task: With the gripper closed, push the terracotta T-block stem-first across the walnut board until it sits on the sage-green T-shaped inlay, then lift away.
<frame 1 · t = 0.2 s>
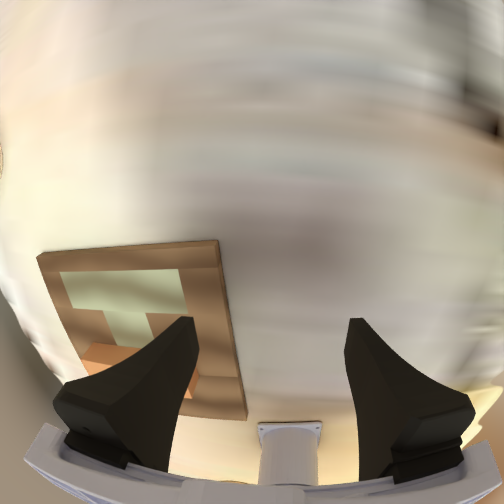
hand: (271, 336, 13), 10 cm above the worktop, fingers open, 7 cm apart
t block: (147, 371, 27), point 1 cm above the worktop, touching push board
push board: (142, 344, 27), on the worktop
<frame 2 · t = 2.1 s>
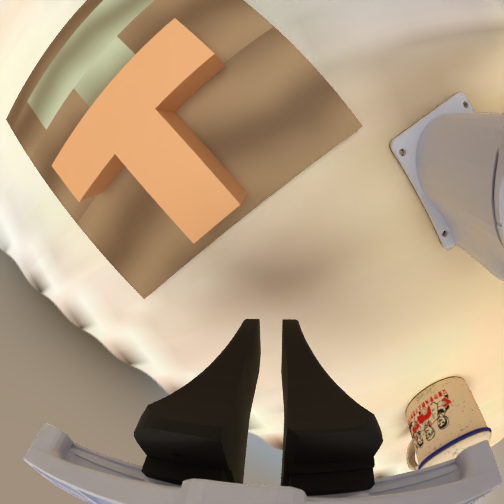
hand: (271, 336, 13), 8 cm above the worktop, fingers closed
teacup with lid: (428, 405, 26), on the worktop
t block: (155, 130, 16), point 1 cm above the worktop, touching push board
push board: (137, 102, 17), on the worktop
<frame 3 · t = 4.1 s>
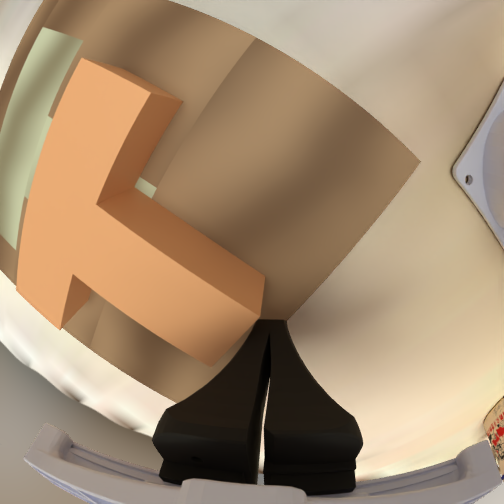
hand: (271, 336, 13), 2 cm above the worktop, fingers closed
t block: (119, 218, 12), point 1 cm above the worktop, touching gripper, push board
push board: (104, 196, 13), on the worktop
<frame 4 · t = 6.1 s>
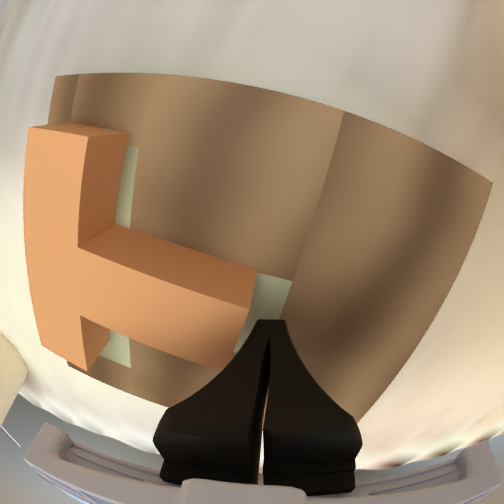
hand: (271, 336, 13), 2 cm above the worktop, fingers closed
t block: (111, 255, 13), point 1 cm above the worktop, touching gripper, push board
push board: (225, 297, 15), on the worktop
foam cup: (10, 353, 22), on the worktop
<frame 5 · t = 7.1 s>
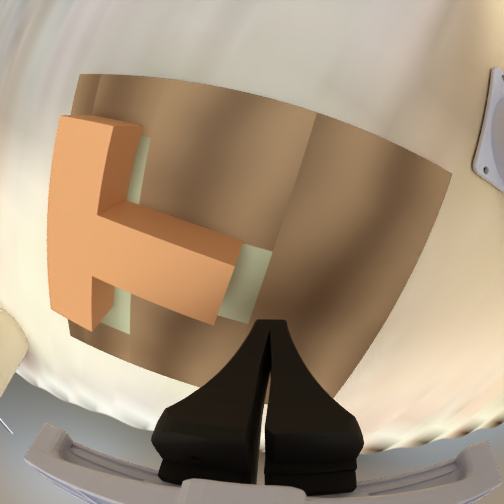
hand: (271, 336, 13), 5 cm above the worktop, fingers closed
t block: (121, 227, 15), point 1 cm above the worktop, touching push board
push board: (217, 267, 17), on the worktop
foam cup: (12, 330, 24), on the worktop
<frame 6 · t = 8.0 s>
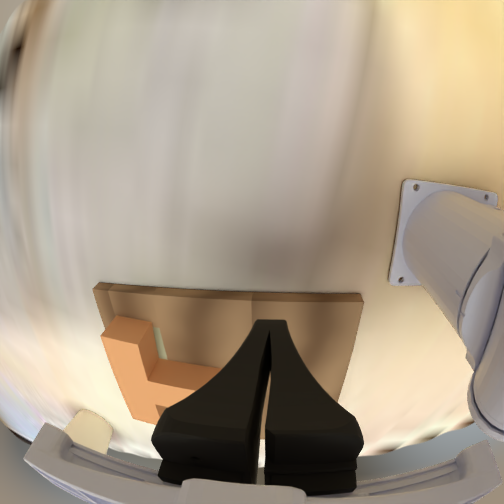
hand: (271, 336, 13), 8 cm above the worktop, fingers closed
t block: (161, 370, 25), point 1 cm above the worktop, touching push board
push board: (226, 378, 26), on the worktop
foam cup: (96, 420, 35), on the worktop
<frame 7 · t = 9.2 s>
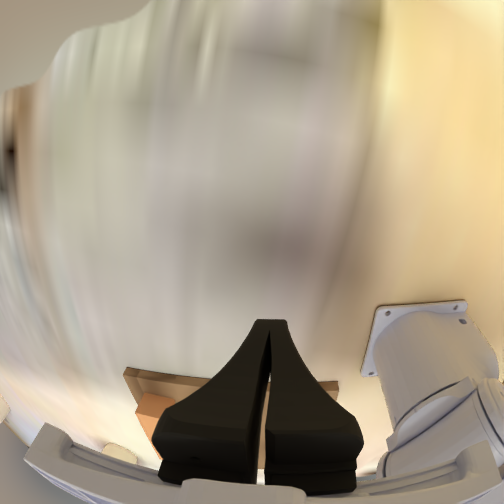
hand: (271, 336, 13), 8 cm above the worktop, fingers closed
t block: (182, 426, 29), point 1 cm above the worktop, touching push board
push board: (233, 430, 30), on the worktop
foam cup: (122, 451, 39), on the worktop
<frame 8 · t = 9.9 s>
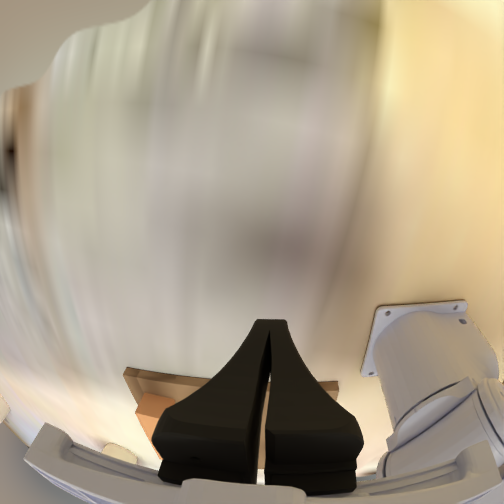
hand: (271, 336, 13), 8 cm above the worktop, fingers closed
t block: (182, 426, 29), point 1 cm above the worktop, touching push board
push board: (233, 430, 30), on the worktop
foam cup: (122, 451, 39), on the worktop
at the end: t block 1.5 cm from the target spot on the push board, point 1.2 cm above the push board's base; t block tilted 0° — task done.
